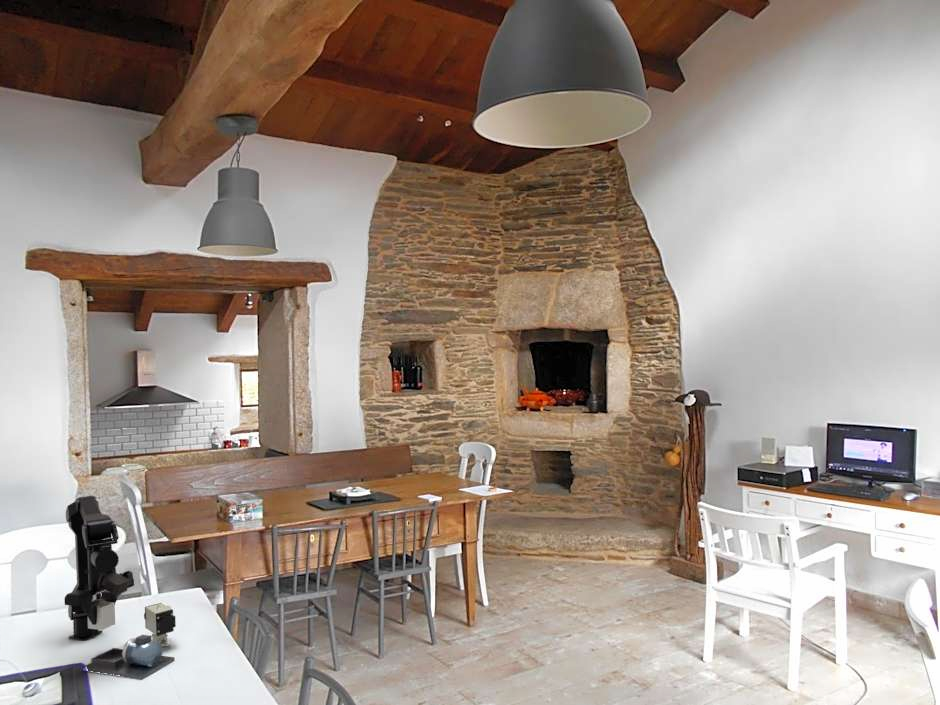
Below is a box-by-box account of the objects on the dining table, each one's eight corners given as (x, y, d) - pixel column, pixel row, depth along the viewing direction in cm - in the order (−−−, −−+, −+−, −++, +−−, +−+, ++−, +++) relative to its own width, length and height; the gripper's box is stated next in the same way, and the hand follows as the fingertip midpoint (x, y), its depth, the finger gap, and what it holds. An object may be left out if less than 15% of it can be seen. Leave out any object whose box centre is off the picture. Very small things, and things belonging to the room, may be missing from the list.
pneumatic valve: (159, 653, 207) (158, 611, 207) (144, 642, 215) (142, 602, 215) (179, 647, 211) (177, 606, 211) (163, 637, 219) (161, 597, 219)
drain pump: (87, 628, 200) (87, 601, 200) (101, 622, 205) (100, 596, 205) (102, 629, 199) (101, 603, 199) (115, 624, 203) (114, 598, 203)
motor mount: (82, 671, 197) (81, 639, 197) (117, 653, 208) (116, 623, 208) (141, 679, 190) (140, 647, 190) (174, 660, 201) (173, 630, 201)
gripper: (94, 576, 190) (96, 636, 190) (148, 557, 208) (150, 612, 208) (62, 573, 194) (63, 632, 194) (117, 555, 212) (119, 609, 211)
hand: (101, 621), depth 202 cm, fingers closed on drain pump, 4 cm apart
